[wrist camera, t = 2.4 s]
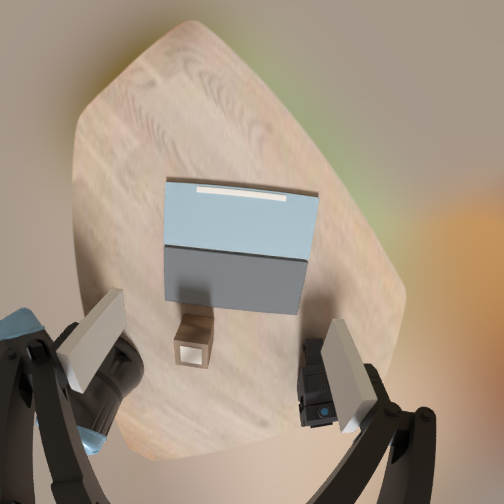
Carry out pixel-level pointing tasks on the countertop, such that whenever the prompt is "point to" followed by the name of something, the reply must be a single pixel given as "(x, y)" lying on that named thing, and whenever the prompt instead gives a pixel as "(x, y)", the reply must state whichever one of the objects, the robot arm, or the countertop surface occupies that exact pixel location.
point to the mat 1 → (239, 219)
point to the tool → (315, 388)
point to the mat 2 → (233, 280)
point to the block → (194, 341)
